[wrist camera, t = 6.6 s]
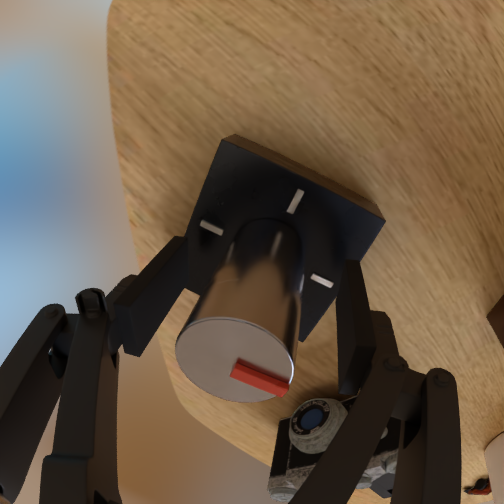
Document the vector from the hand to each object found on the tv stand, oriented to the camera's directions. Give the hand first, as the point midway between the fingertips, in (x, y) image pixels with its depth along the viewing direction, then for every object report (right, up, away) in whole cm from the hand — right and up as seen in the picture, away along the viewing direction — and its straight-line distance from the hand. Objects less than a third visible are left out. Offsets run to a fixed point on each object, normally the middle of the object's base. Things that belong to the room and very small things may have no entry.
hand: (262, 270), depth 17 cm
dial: (0, +1, +2) cm, 2 cm away
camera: (+8, -14, +11) cm, 19 cm away
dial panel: (+1, +2, +4) cm, 5 cm away
